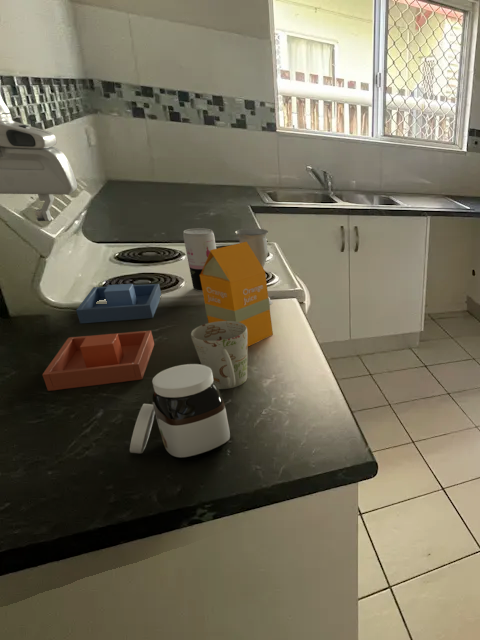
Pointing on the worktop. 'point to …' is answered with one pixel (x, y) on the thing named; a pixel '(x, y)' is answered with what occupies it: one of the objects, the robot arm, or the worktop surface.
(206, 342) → the mug
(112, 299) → the blue block
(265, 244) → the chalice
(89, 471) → the worktop surface
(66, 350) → the rust tray
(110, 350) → the rust block
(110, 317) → the blue tray
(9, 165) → the robot arm
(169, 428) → the spread jar
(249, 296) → the orange juice
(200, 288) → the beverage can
